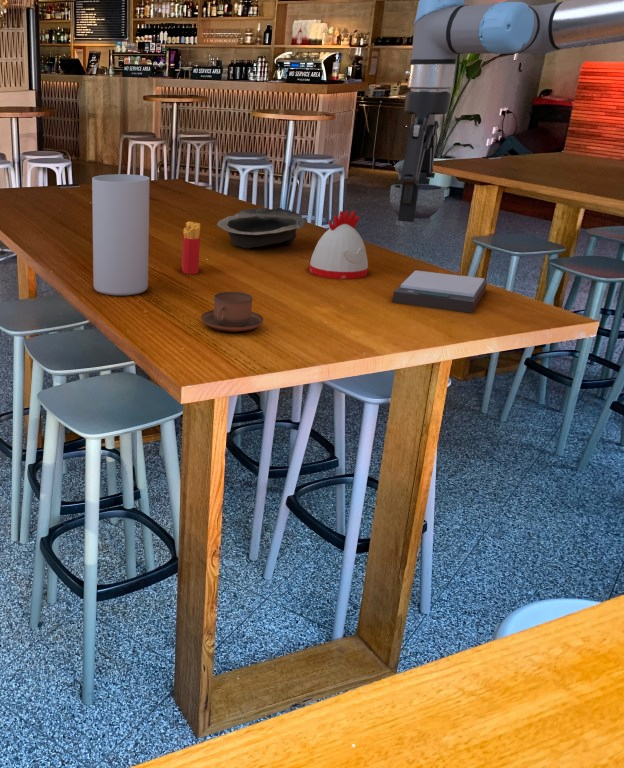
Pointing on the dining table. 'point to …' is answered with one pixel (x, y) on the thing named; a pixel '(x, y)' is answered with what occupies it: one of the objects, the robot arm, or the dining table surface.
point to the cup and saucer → (232, 313)
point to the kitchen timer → (340, 250)
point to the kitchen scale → (441, 291)
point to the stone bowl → (262, 227)
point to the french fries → (190, 248)
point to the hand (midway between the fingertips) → (411, 216)
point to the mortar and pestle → (425, 205)
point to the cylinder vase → (120, 234)
